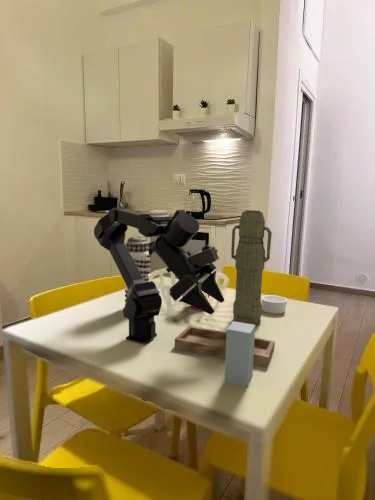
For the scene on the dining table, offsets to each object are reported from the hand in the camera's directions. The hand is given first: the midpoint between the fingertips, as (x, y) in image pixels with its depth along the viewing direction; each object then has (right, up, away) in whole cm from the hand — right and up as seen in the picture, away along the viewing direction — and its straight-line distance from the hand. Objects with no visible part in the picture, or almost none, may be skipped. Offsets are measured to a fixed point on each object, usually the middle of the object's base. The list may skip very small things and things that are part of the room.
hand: (218, 307), depth 81 cm
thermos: (+12, -10, +29) cm, 33 cm away
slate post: (+4, -15, -5) cm, 16 cm away
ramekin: (+23, -8, +41) cm, 48 cm away
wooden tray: (+2, -13, +9) cm, 16 cm away
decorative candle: (-24, -7, +38) cm, 46 cm away
